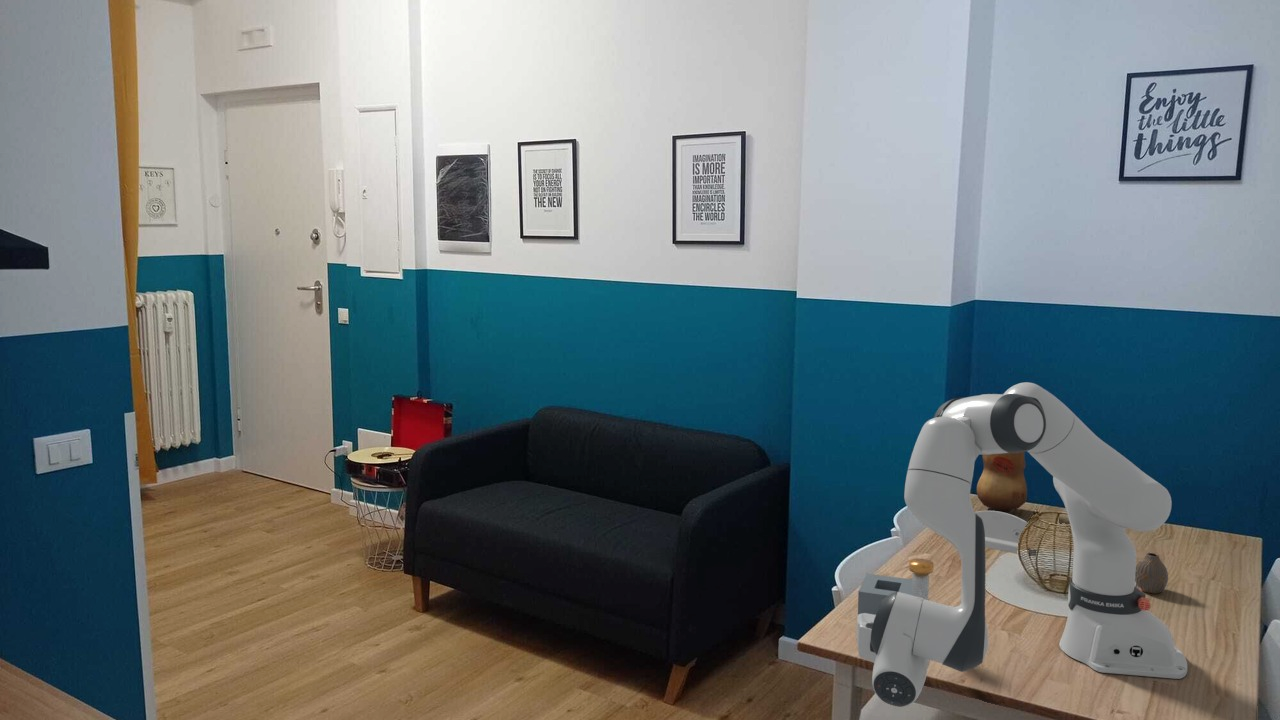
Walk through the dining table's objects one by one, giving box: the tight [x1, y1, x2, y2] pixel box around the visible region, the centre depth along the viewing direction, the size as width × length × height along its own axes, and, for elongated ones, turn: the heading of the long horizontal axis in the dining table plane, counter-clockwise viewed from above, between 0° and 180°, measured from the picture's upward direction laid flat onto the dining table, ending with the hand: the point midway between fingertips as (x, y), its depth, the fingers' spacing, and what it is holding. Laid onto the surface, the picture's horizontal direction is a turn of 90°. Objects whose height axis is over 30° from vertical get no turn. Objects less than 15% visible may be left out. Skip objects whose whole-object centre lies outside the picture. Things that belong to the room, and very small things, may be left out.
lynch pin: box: [908, 557, 935, 600], centre depth 189 cm, size 5×5×16 cm
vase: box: [1135, 552, 1169, 595], centre depth 212 cm, size 7×7×9 cm
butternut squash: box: [976, 452, 1028, 513], centre depth 269 cm, size 14×13×25 cm
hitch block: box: [857, 573, 913, 616], centre depth 203 cm, size 11×11×6 cm
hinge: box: [974, 510, 1029, 555], centre depth 243 cm, size 17×5×10 cm, turn 53°
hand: (914, 618), depth 180 cm, fingers open, 8 cm apart
